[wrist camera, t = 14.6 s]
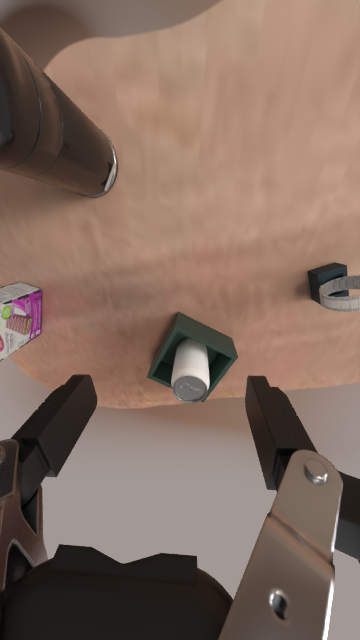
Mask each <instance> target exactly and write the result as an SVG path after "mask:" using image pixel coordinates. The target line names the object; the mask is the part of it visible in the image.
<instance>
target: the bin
mask: <svg viewBox="0 0 360 640" xmlns="http://www.w3.org/2000/svg"><path fill="white" fill-rule="evenodd" d="M186 338H191V339H193V340H195V341H197V342H199V343H201V344H204V345H205V346H206V348H207V356H208V367H209V381H210V384H209V388H208V392H207V395H206V397H205V398H204V399H203V400H201V402H204V401H205V400H206V398H207V397H208V396H209V394H210V393H211V392H212V390H213V389H214V388H215V386H216V385H217V384H218V383H219V381H220V380H221V379H222V377H223V376H224V375H225V373H226V372H227V371H228V369H229V368H230V367H231V366H232V364H233V363H234V362H235V360H236V359H237V358H238V355H237V352H236V349H235V346H234V343H233V340H232V338H230V337H228V336H226V335H224V334H222V333H220V332H218V331H216V330H214V329H212V328H210V327H208V326H206V325H204V324H202V323H200V322H198V321H196V320H194V319H192V318H190V317H188V316H186V315H184V314H182V313H180V312H178V314H177V315H176V317H175V319H174V321H173V323H172V325H171V326H170V328H169V330H168V332H167V334H166V336H165V337H164V339H163V341H162V343H161V345H160V347H159V348H158V350H157V352H156V354H155V356H154V358H153V361H152V364H151V367H150V369H149V372H148V375H147V377H148V378H150V379H152V380H154V381H157V382H159V383H161V384H163V385H165V386H168V387H170V388H172V385H171V379H172V372H173V366H174V360H175V355H176V349H177V346H178V344H179V343H180V342H181V341H182V340H184V339H186ZM172 389H173V388H172Z"/></svg>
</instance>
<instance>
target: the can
mask: <svg viewBox="0 0 360 640" xmlns="http://www.w3.org/2000/svg"><path fill="white" fill-rule="evenodd" d="M209 384H210V381H209V367H208V356H207V348H206V346H205V345H204V344H201V343H199V342H197V341H195V340H193V339H191V338H186V339H184V340H182V341H181V342H180V343H179V344H178V346H177V349H176V355H175V360H174V366H173V372H172V379H171V385H172V388H173V393H174V395H175V397H176V398H177V399H179V400H180V401H182V402H185V403H197V402H199V401H201V400H203V399H204V398H205V397H206V395H207V392H208V388H209Z"/></svg>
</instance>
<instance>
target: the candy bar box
mask: <svg viewBox="0 0 360 640" xmlns="http://www.w3.org/2000/svg"><path fill="white" fill-rule="evenodd" d="M41 315H42V289H40V288H38V287H34V286H30V285H28V284H25V283H21V282H18V283H15V284H11V285H8V286H5V287H1V288H0V361H1V360H3V359H5V358H6V357H7V356H9V355H10V354H12V353H13V352H15V351H16V350H18V349H19V348H21V347H22V346H24V345H25V344H27V343H28V342H30V341H31V340H33V339H34V338H36V337H37V336H39V335H40V334H41Z"/></svg>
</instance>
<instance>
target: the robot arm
mask: <svg viewBox="0 0 360 640" xmlns="http://www.w3.org/2000/svg"><path fill="white" fill-rule="evenodd" d="M0 169H1V170H4V171H7V172H11V173H14V174H17V175H21V176H24V177H27V178H31V179H34V180H37V181H40V182H43V183H47V184H50V185H53V186H56V187H60V188H63V189H66V190H69V191H72V192H76V193H78V194H80V195H83V196H86V197H99V196H102V195H104V194H105V193H107V192H108V191H109V190H110V189H111V187H112V186H113V184H114V182H115V179H116V176H117V169H118V164H117V157H116V153H115V150H114V147H113V145H112V143H111V142H110V140H109V139H108V137H107V136H106V135H105V134H104V133H103V132H102V131H101V130H100V129H99V128H98V127H97V126H96V125H95V124H94V123H93V122H92V121H91V120H90V119H89V118H88V117H87V116H86V115H85V114H84V113H83V112H82V111H81V110H80V109H79V108H78V107H77V106H76V105H75V104H74V103H73V102H72V101H71V100H70V98H69V97H68V96H67V95H66V94H65V93H64V92H63V91H62V90H61V89H60V88H59V87H58V86H57V85H56V84H55V83H54V82H53V81H52V80H51V79H50V78H49V77H48V76H47V75H46V74H45V73H44V72H43V71H42V70H41V69H40V68H39V67H38V66H37V64H36V63H35V62H33V61H32V60H31V59H30V58H29V57H28V56H27V54H26V53H25V52H24V51H23V50H22V49H21V48H20V47H19V46H18V45H17V44H16V43H15V42H14V41H13V40H12V39H11V38H10V37H9V36H8V35H7V34H6V33H5V32H4V31H3V30H2V29H1V28H0ZM245 404H246V405H245V406H246V413H247V416H248V420H249V424H250V428H251V431H252V435H253V439H254V442H255V446H256V450H257V454H258V457H259V461H260V465H261V468H262V472H263V476H264V479H265V483H266V486H267V489H268V490H276V491H277V495H276V497H275V500H274V502H273V505H272V508H271V510H270V512H269V513H268V514H267V516H266V518H265V521H264V524H263V526H262V528H261V531H260V533H259V536H258V539H257V541H256V544H255V546H254V549H253V551H252V554H251V556H250V559H249V562H248V564H247V567H246V569H245V572H244V575H243V577H242V580H241V582H240V585H239V587H238V590H237V592H236V595H235V598H234V600H233V599H232V597H231V596H230V595H229V594H228V592H227V591H226V590H225V589H224V587H223V586H222V585H221V584H220V583H218V581H217V580H215V579H214V578H213V577H212V576H210V575H209V574H207V573H206V572H205V571H203V570H201V569H199V568H197V556H189V555H178V554H166V553H160V554H157V555H153V556H150V557H146V558H143V559H140V560H136V561H133V562H129V563H125V564H122V563H119V562H117V561H116V560H114V559H112V558H110V557H108V556H107V555H105V554H103V553H101V552H99V551H97V550H96V549H94V548H92V547H84V546H72V545H61V544H59V546H58V549H57V551H56V553H55V555H54V558H52V559H49V560H48V559H47V553H46V549H45V546H44V541H43V507H42V505H43V504H42V486H41V483H42V481H43V479H44V478H45V477H57V476H58V474H59V472H60V470H61V468H62V466H63V465H64V463H65V461H66V460H67V458H68V456H69V454H70V453H71V451H72V449H73V447H74V446H75V444H76V442H77V440H78V439H79V437H80V435H81V433H82V431H83V430H84V428H85V426H86V425H87V423H88V421H89V419H90V417H91V416H92V414H93V412H94V410H95V408H96V405H97V395H96V392H95V388H94V385H93V381H92V378H91V376H90V375H73V376H72V377H71V378H70V379H69V380H68V381H67V382H66V384H65V385H62V386H60V387H59V388H57V389H56V390H54V391H53V392H52V393H51V394H50V395H49V396H48V398H47V399H46V400H45V402H43V403H42V404H41V405H40V406H39V408H38V410H36V411H35V412H34V413H33V414H32V415H31V416H30V418H29V419H28V420H27V421H26V422H25V423H24V424H23V425H22V427H21V428H20V429H19V430H18V431H17V432H16V433H15V434H14V435H13V437H12V438H11V439H6V440H3V441H0V640H327V633H328V626H329V618H330V610H331V603H332V595H333V588H334V577H335V567H334V565H333V552H334V549H337V550H339V551H341V552H343V553H345V554H347V555H349V556H352V557H354V558H356V559H358V561H359V563H360V479H358V478H355V477H352V476H349V475H346V474H344V473H342V472H340V471H338V470H337V469H336V468H335V467H334V465H333V464H332V463H331V462H330V461H328V459H326V458H325V457H323V456H322V455H320V454H318V452H317V451H316V449H315V447H314V445H313V443H312V442H311V440H310V438H309V436H308V435H307V432H306V431H305V429H304V427H303V425H302V423H301V421H300V419H299V418H298V416H297V415H296V412H295V410H294V408H293V407H292V405H291V403H290V401H289V399H288V397H287V396H286V394H284V393H283V392H282V391H281V390H280V389H279V388H278V387H270V386H269V383H268V381H267V379H266V377H265V376H248V378H247V387H246V398H245Z"/></svg>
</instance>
